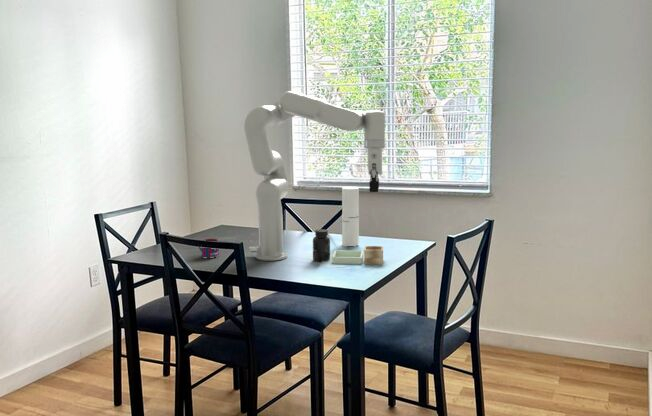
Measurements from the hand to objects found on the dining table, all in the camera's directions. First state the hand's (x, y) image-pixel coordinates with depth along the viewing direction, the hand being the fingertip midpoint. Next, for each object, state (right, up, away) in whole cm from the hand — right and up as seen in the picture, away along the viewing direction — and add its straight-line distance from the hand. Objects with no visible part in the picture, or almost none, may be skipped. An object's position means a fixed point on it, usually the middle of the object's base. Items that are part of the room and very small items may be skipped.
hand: (374, 190), depth 230 cm
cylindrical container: (-8, -23, +36) cm, 44 cm away
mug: (-66, -26, +18) cm, 73 cm away
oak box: (0, -28, +5) cm, 28 cm away
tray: (-10, -28, +8) cm, 30 cm away
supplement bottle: (-20, -27, +10) cm, 35 cm away
